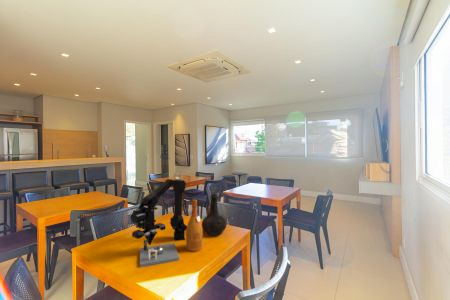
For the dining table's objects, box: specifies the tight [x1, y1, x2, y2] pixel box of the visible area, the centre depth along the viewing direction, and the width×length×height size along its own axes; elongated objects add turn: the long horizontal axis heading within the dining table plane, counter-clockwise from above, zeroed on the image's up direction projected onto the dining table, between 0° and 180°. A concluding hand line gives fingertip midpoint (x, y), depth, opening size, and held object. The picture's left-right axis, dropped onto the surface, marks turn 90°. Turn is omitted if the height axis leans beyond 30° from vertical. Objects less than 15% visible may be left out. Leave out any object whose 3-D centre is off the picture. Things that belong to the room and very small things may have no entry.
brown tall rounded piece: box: [185, 199, 203, 252], centre depth 136 cm, size 10×10×30 cm
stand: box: [139, 242, 180, 268], centre depth 128 cm, size 20×20×7 cm
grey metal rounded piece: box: [143, 239, 163, 257], centre depth 126 cm, size 9×11×6 cm
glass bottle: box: [201, 193, 228, 236], centre depth 161 cm, size 18×18×28 cm
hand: (149, 244), depth 131 cm, fingers closed
